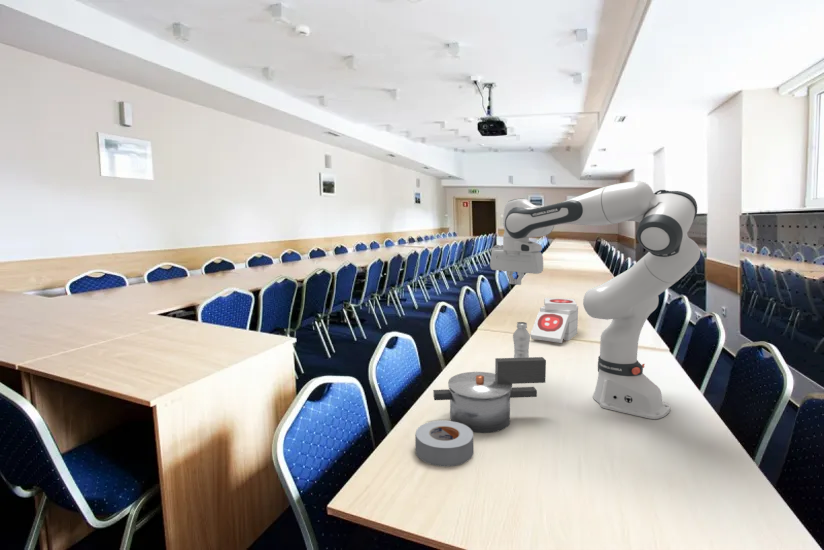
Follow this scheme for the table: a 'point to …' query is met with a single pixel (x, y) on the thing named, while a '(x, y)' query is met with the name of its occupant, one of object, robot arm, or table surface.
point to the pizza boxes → (556, 320)
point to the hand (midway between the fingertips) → (515, 284)
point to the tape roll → (444, 443)
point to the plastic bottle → (521, 341)
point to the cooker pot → (482, 409)
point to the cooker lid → (499, 378)
